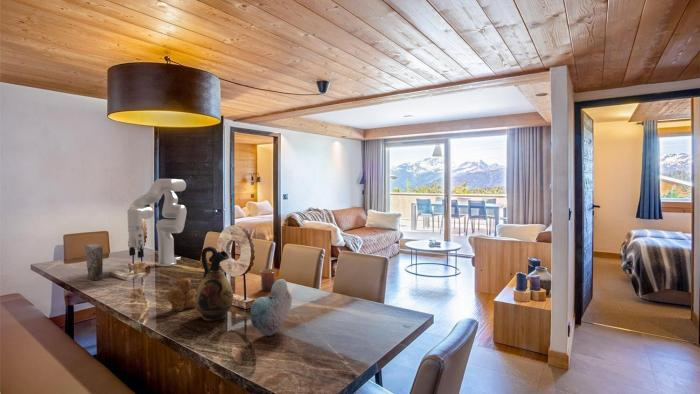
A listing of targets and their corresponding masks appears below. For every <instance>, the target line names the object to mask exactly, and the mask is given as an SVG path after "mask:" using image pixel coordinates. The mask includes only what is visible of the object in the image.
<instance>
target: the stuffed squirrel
mask: <svg viewBox="0 0 700 394" xmlns="http://www.w3.org/2000/svg"><path fill="white" fill-rule="evenodd" d="M175 282H176V283H177V284H178V286H179V288H174V289H172V290H169V291H168V293H166V295H165V297H166V299H167V301H168V302H169V303H170V304H171V308H172V310H174V311H176V312H182V311H184V310H189V309H194V308H196V305H195V297H194V295H196V292H197V290H196V289H195V288H192V289H191V287H192V286H193V285H195V283H194V282H192V280H191V279H189V278H187V277H185V278H181V279H177V280H176V281H175ZM188 308H189V309H188Z"/></svg>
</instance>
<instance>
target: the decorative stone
mask: <svg viewBox="0 0 700 394" xmlns="http://www.w3.org/2000/svg"><path fill="white" fill-rule="evenodd" d="M292 302H293V296H292V292H290V291H289V289H288V284H287V281H286V280H285V279H284V278H279V279H277V280H275V283H274V284H273V286H272V289H271V291H270V292H269V295H268V296H260V297H258V298H257V299H256V300H254V301H253V302H251V303H252V304H251V305H250V322H251V325H252V326H253V327H254V328H255V329H256V330H258V331H260V332H261V333H262V334H263V335H265V336H269V337H270V336H273V335H274V334H275V333H277V331H278V330H279V328H280V327H281V326H282V324H284V322H285V320H286V319H287V317H288V315H289V313H290V312H291V308H292Z"/></svg>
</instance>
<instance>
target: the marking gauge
mask: <svg viewBox="0 0 700 394" xmlns="http://www.w3.org/2000/svg"><path fill="white" fill-rule="evenodd" d="M127 268H129V269H130V272H131V269H132V268H133V270H134V273H136V274H139V273H146V262H145V261H138V262H134V263H133V265H128V266H127Z"/></svg>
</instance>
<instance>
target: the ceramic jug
mask: <svg viewBox="0 0 700 394" xmlns="http://www.w3.org/2000/svg"><path fill="white" fill-rule="evenodd" d="M209 252H211V254H212V255H211V256H209V258H208V259H207V253H209ZM200 257H201V264H202V267H203V270H204V273H203V276H202V280H201V282H200V284H199V286H198V288H197V290H196V293H195V297H194V301H195V305H196V307H195V308H196V310H197V311H198V312H199V314H201V318H202V319H203V320H204V321H209V322H216V321H221V320H224V319H225V318H226V315H227V313H228V311H229V310H230V309H231V307H232V306H233V302H234V291H233V287H232V284H231V282H230V281H229V279H228V277H226V275H225V273H224V272H223V271H222V268H221V267H220V264H221V263H222V262H224V261H227V260H229V259H230V256H229V254H228V253H227V252H226V251H225V250H222V251H221V252H220V250H219V251H218V250H217V249H216V248H215V247H213V246H210V245H209V246H206V247H204V248H203V249H202V250H201V253H200ZM208 262H209V263H211V264H210V267H209V264H208Z"/></svg>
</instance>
